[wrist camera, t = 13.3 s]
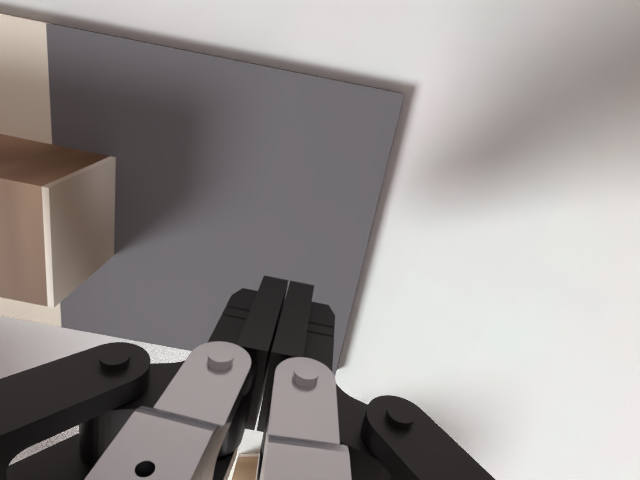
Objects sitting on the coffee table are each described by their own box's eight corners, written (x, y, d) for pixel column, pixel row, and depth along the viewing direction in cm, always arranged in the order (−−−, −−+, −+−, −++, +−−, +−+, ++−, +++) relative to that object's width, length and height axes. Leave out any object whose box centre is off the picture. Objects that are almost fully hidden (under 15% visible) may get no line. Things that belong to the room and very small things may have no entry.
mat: (402, 93, 15) (404, 94, 15) (335, 371, 20) (334, 377, 20) (-127, -12, 15) (-139, -14, 15) (-71, 296, 20) (-79, 301, 19)
